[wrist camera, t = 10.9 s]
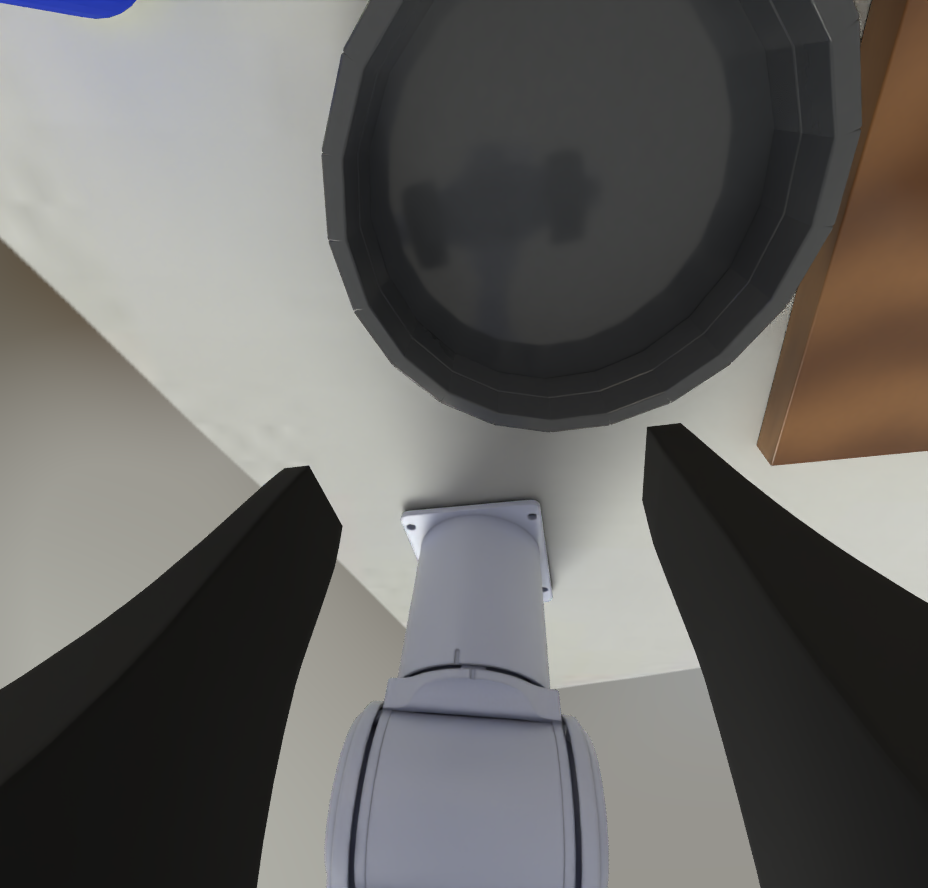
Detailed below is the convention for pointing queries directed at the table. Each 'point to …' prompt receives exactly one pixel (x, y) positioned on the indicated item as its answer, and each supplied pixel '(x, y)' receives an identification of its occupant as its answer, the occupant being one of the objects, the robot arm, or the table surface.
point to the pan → (584, 190)
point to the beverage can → (77, 6)
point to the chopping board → (866, 275)
